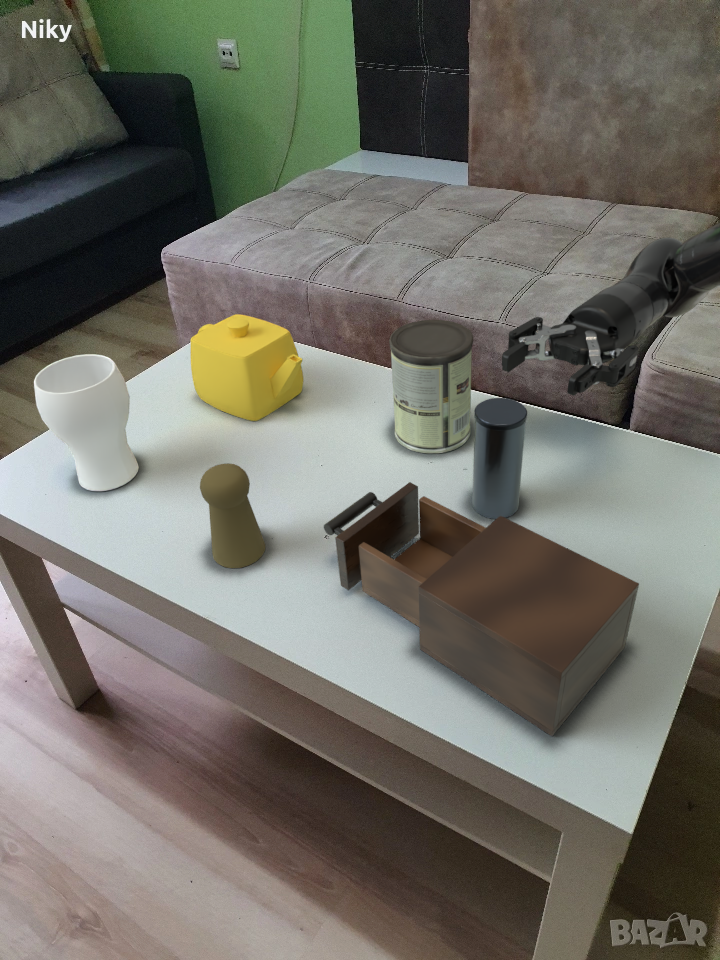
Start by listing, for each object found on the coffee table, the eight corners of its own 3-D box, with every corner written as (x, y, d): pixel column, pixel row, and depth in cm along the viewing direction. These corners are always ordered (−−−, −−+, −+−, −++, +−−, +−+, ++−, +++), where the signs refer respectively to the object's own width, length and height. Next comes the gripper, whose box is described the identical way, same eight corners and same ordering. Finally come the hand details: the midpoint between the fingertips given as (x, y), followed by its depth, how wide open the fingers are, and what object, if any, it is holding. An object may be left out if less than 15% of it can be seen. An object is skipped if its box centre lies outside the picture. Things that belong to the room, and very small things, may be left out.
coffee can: (403, 408, 107) (399, 316, 98) (476, 415, 104) (479, 321, 96) (385, 450, 99) (380, 354, 90) (463, 458, 96) (465, 360, 88)
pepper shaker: (201, 552, 85) (181, 475, 79) (242, 524, 89) (226, 448, 82) (235, 576, 82) (217, 497, 75) (276, 546, 85) (262, 469, 79)
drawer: (312, 567, 81) (305, 519, 77) (383, 514, 87) (380, 467, 83) (442, 651, 71) (442, 601, 67) (511, 584, 77) (516, 535, 73)
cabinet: (419, 649, 72) (417, 586, 67) (496, 577, 79) (500, 515, 74) (552, 737, 64) (561, 672, 59) (624, 648, 71) (639, 583, 66)
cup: (122, 440, 105) (91, 343, 96) (165, 469, 99) (137, 368, 89) (52, 477, 99) (12, 377, 90) (93, 510, 93) (55, 406, 84)
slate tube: (524, 494, 90) (532, 401, 82) (512, 524, 86) (520, 429, 78) (479, 485, 92) (482, 393, 84) (465, 513, 88) (467, 420, 80)
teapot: (333, 396, 110) (325, 322, 103) (274, 436, 103) (262, 360, 96) (238, 361, 121) (225, 292, 114) (179, 395, 114) (161, 323, 106)
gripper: (561, 280, 95) (485, 328, 86) (670, 308, 87) (599, 364, 78) (555, 334, 100) (483, 384, 91) (658, 365, 92) (590, 425, 83)
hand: (537, 375), depth 84 cm, fingers open, 8 cm apart
